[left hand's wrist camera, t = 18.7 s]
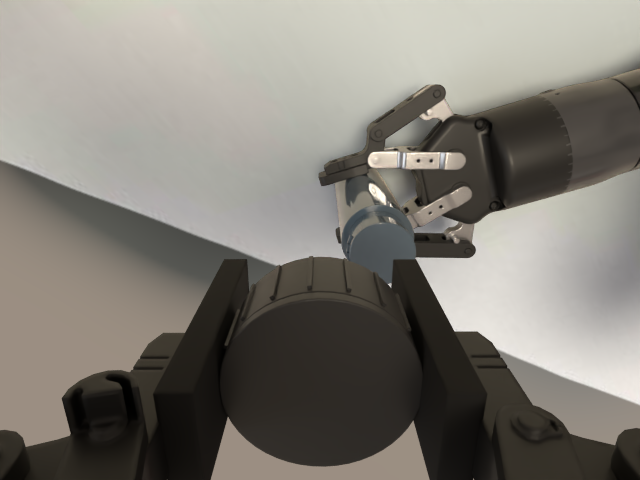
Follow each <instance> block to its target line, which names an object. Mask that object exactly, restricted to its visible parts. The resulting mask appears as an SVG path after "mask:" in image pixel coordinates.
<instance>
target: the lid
mask: <svg viewBox="0 0 640 480" xmlns="http://www.w3.org/2000/svg"><path fill="white" fill-rule="evenodd" d="M410 331H412V330H411V327H410V324H409V321H408V319H407V316H406V313H405V310H404V308H403V305H402V302H401V299H400V296H399V295H398V293H397V294H395V293H394V292H393V290H392V289H391V288H390V286H389V285H388V284H387V283H386V282H385V281H384V280H383V279H382V278H380V277H379V276H378V273H377V272H372V271H370V270H369V269H367V268H365V267H363V266H361V265H359V264H356V263H354V262H351V261H348V259H345V258H344V259H338V258H332V257H313V256H309V258H305V259H300V260H295V261H292V262H290V263H287V264H284V265H282V266H280V265H278V266H277V267H276V269H274V270H273V271H271V272H270V273H268V274H267V275H265V276H264V277H263V278H262V279H261V280H260V281H258V282H257V283H256V284H253V285H252V286H251V288H250V291H249V293H248V295H247V296H246V298H245V300H244V302H243V304H242V307H241V309H237V312H236V314H235V317H234V320H233V322H232V325H231V328H230V331H229V333H228V336H227V339H226V342H225V344H224V347H223V348H224V349H226V352H225V354H224V357H223V360H222V364H221V368H220V375H219V389H220V395H221V400H222V404H223V406H224V409H225V411H226V414H227V415H228V417H229V419H230V421H231V422H232V424H233V425H234V426H235V428H236V429H237V430H238V432H239V433H240V434H241V435H242V436H243V437H244V438H245V439H246V440H248V441H249V442H250V443H252V444H253V445H254V446H255V447H257V448H258V449H260V450H262V451H263V452H265V453H267V454H269V455H271V456H274V457H276V458H278V459H281V460H284V461H287V462H291V463H295V464H300V465H307V466H337V465H343V464H349V463H352V462H356V461H360V460H362V459H365V458H368V457H370V456H372V455H374V454H376V453H378V452H380V451H382V450H384V449H385V448H386V447H388V446H389V445H391V444H392V443H393V442H395V441H396V440H397V439H398V438H399V437H400V436H401V435H402V434H403V433H404V432H405V431H406V429H407V428H408V427H409V426H410V424H411V423H412V421H413V420H414V418H415V416H416V414H417V412H418V410H419V407H420V399H421V389H422V379H423V367H422V363H421V360H420V357H419V354H418V351H417V349H416V346H415V343H414V340H413V337H412V334H411V332H410Z"/></svg>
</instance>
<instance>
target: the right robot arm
mask: <svg viewBox="0 0 640 480" xmlns="http://www.w3.org/2000/svg"><path fill="white" fill-rule="evenodd" d="M445 95H446V91H445V89H444V87H443V86H441V85H426V86H425V87H423V88H422V89H420V90H419V91H417V92H416V93H414V94H413V95H411V96H410V97H409V98H407V99H406V100H404V101H403V102H401V103H400V104H398V105H397V106H395V107H394V108H393V109H391V110H390V111H388V112H387V113H385V114H384V115H382V116H381V117H379V118H378V119H376V120H375V121H374V122H372V123H371V124H369V126H368V127H367V142H366V146H365V148H364V149H363V150H362V151H361V152H358V153H355V154H351V155H348V156H345V157H342V158H338V159H335V160H332V161H329V162H328V163H327V164H325V165H324V169H325V171H323V172H321V173H319V180H320V183H321V186H326V185H330V184H333V183H336V182H340V181H343V180H347V179H350V178H353V177H356V176H360V175H364V174H367V173H369V170H368V169H371V168H400V169H411V171H412V173H413V175H414V177H415V178H416V192H417V196H415V197H414V198H412V199H411V200H409V201H407V202H406V203H405V205H404V206H403V207H401V208H402V210H403V211H404V213H405V215H406V216H407V218H408V219H409V221H410V223H411V225H412V227H413V229H414V228H416V227H421V226H424V225H426V224H427V223H429V222H431V221H432V220H434V219H436V218H437V217H439V216H444V217H447V218H450V219H453V220H456V221H459V223H458V224H457V225H456V226H454V227H449V228H447V229H446V230H445V231H444V233H414V242H415V246H416V257H435V258H470V257H472V256H473V255H474V254H475V251H476V249H475V246H474V245H473V244H472V237H473V230H474V223H477V222H479V221H480V220H481V219H482V218H483V217H485V216H486V215H488V214H489V213H492V212H495V211H500V210H505V209H509V208H512V207H516V206H520V205H523V204H527V203H530V202H534V201H538V200H541V199H545V198H548V197H552V196H556V195H559V194H563V193H566V192H570V191H574V190H577V189H581V188H584V187H588V186H591V185H594V184H597V183H600V182H603V181H605V180H608V179H610V178H612V177H614V176H617V175H619V174H622V173H625V172H629V171H632V170H636V169H639V168H640V68H639V69H636V70H632V71H629V72H626V73H622V74H619V75H616V76H612V77H609V78H606V79H602V80H598V81H594V82H587V83H581V84H576V85H571V86H567V87H563V88H560V89H557V90H548V91H545V92H542V93H540V94H539V95H537V96H534V97H530V98H527V99H524V100H521V101H517V102H514V103H511V104H507V105H504V106H501V107H497V108H494V109H491V110H487V111H484V112H481V113H478V114H474V115H470V116H462V115H457V114H453V112H452V111H451V109H450V107H449V105H448V103H447V102H446V100H445ZM417 117H419V118H421V119H423V120H430V119H433V118H437V119H438V120H439V122H438V123H437V125H436V126H435V127H434V128H433V129H432V131H431V132H430V133H429V134H428V135H427V137H426V138H425V139H424V140H423V142H422V143H421V144H420V145H419V146H397V147H385V139H386V138H388V137H389V136H390V135H392V134H393V133H395V132H396V131H398V130H399V129H401V128H402V127H404V126H405V125H407V124H408V123H410V122H411V121H413V120H414V119H416V118H417ZM429 212H430V213H429ZM336 236H337V239H338V243H340V244H341V235H340V227H339V228H337V229H336Z"/></svg>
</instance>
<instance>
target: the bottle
mask: <svg viewBox="0 0 640 480" xmlns="http://www.w3.org/2000/svg"><path fill="white" fill-rule="evenodd" d="M368 170H369V173H367V174H364V175H360V176H356V177H353V178H350V179H347V180H343V181H340V182H336V183H335V191H336V199H337V208H338V217H339V226H340V235H341V244H342V249H343V252H344V254H345V256H346V258H347V259H348V261H351V262H354V263H356V264H359V265H361V266H363V267H365V268H367V269H369V270H370V271H372V272H377V273H378V276H379V277H380V278H382V279H383V280H384V281H385V282H386V283H387V284H389V283H392V271H393V259H415V258H416V246H415V242H414V231H413V227H412V225H411V223H410V221H409V219H408V218H407V216H406V215H405V213H404V211H403V210H402V208H401V207H400V205H399V203H398V202H397V200H396V199H395V197H394V196H393V194H392V192H391V191H390V189H389V188H388V186H387V185H386V183H385V181H384V180H383V178H382V177H381V175H380V174H379V172H378V170H377V169H376V168H371V169H368Z"/></svg>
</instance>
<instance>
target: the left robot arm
mask: <svg viewBox="0 0 640 480" xmlns="http://www.w3.org/2000/svg"><path fill="white" fill-rule="evenodd" d="M391 289H392V290H393V292H394V293H395V294H397V293H398V295H399V296H400V299H401V302H402V305H403V308H404V310H405V313H406V316H407V319H408V321H409V324H410V327H411V330H412V331H410V332H411V334H412V337H413V340H414V343H415V346H416V349H417V351H418V354H419V357H420V360H421V363H422V367H423V379H422V389H421V399H420V407H419V410H418V412H417V414H416V416H415V418H414V424H415V428H416V431H417V435H418V438H419V442H420V446H421V449H422V453H423V457H424V460H425V464H426V468H427V471H428V475H429V479H430V480H473V478H474V480H640V429H638V428H634V429H628V430H624V431H623V432H622V433H621V434H620V435H619V436H618V438H617V442H616V445H611V444H606V443H602V442H598V441H594V440H590V439H585V438H582V437H578V436H575V435H572V434H569V432H568V430H567V429H566V427H565V426H564V424H563V423H562V422H561V421H560V420H559V419H558V418H556V417H555V416H554V415H553V414H551V413H549V412H548V411H546V410H544V409H542V408H540V407H537V406H533V405H532V403H531V402H530V400H529V399H528V397H527V395H526V394H525V392H524V391H523V390H522V388H521V386H520V385H519V383H518V382H517V380H516V379H515V377H514V376H513V374H512V373H511V371H510V369H507V365H506V363H505V362H504V360H503V359H502V358H500V354H499V353H498V351H497V350H496V348H495V347H494V345H493V343H492V342H490V341H489V340H488V339H486V338H485V337H484V336H482V335H481V334H480V333H478V332H454V330H453V328H452V326H451V324H450V322H449V321H448V319H447V317H446V315H445V313H444V311H443V309H442V307H441V306H440V304H439V302H438V300H437V298H436V296H435V294H434V292H433V291H432V289H431V287H430V285H429V283H428V281H427V279H426V277H425V275H424V274H423V272H422V270H421V268H420V266H419V264H418V262H417V260H416V259H393V271H392V286H391ZM248 293H249V282H248V267H247V259H224V261H223V263H222V265H221V267H220V269H219V271H218V272H217V274H216V276H215V278H214V280H213V282H212V284H211V286H210V287H209V289H208V291H207V293H206V295H205V297H204V299H203V300H202V302H201V304H200V306H199V308H198V310H197V312H196V314H195V315H194V317H193V319H192V321H191V323H190V325H189V327H188V329H187V331H186V332H185V333H163V334H161V335H160V336H159V337H157V338H156V339H154V340H153V341H152V342H151V343H149V344H148V346H147V347H146V349H145V350H144V352H143V353H142V355H141V356H140V359H139V360H138V361H137V363H136V364H135V366H134V367H133V370H131V372H126V371H122V370H113V371H105V372H101V373H97V374H93V375H91V376H89V377H87V378H85V379H82V380H80V381H79V382H77V383H76V384H75V385H73V386H72V387H71V388H69V389H68V391H67V392H66V393H65V395H64V396H63V397H62V401H63V405H64V409H65V413H66V417H67V421H68V424H69V428H70V432H71V434H70V436H68V437H65V438H61V439H58V440H54V441H50V442H45V443H41V444H37V445H33V446H28V447H25V444H24V440H23V438H22V437H21V436H20V435H19V434H18V433H17V432H14V431H8V430H0V480H211V476H212V472H213V469H214V465H215V461H216V458H217V454H218V450H219V447H220V443H221V439H222V436H223V432H224V428H225V425H226V421H227V418H228V415H227V414H226V411H225V409H224V406H223V404H222V400H221V395H220V389H219V375H220V368H221V364H222V360H223V357H224V354H225V352H226V349H224V348H223V347H224V344H225V342H226V339H227V336H228V333H229V331H230V328H231V325H232V322H233V320H234V317H235V314H236V312H237V309H241V307H242V304H243V302H244V300H245V298H246V296H247V295H248Z"/></svg>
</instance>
